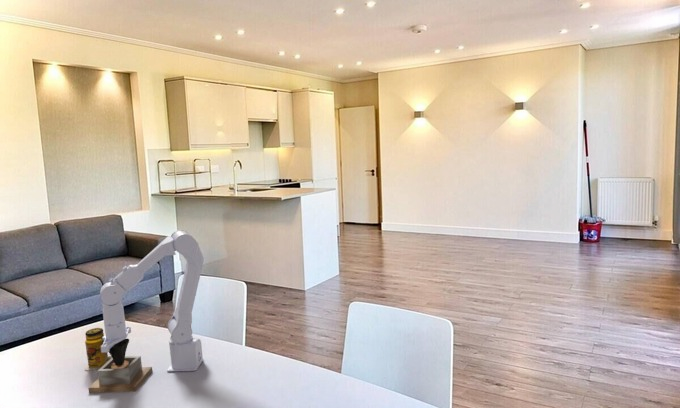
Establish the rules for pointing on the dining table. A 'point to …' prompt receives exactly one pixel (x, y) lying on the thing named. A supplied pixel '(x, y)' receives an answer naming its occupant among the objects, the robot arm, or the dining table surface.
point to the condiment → (95, 349)
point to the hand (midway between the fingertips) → (119, 364)
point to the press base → (121, 376)
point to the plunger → (120, 365)
